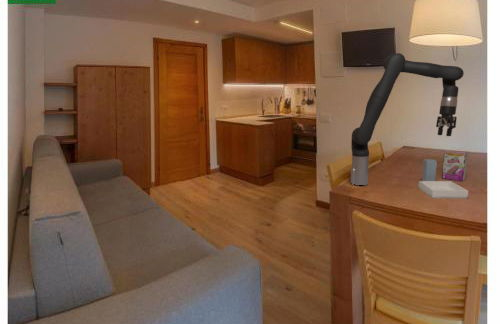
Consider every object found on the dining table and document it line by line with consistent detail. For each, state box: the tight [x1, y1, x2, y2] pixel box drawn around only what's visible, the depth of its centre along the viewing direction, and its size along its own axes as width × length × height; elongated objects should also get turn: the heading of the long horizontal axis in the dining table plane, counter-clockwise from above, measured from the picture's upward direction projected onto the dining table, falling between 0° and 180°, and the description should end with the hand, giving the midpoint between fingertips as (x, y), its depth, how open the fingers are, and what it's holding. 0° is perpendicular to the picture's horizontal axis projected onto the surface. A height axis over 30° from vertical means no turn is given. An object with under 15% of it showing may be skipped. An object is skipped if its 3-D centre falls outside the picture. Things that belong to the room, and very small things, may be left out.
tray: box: [418, 180, 469, 200], centre depth 161 cm, size 16×18×4 cm
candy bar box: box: [441, 150, 469, 182], centre depth 184 cm, size 11×5×16 cm, turn 41°
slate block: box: [421, 158, 438, 181], centre depth 177 cm, size 5×5×14 cm
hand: (444, 135), depth 171 cm, fingers open, 8 cm apart
